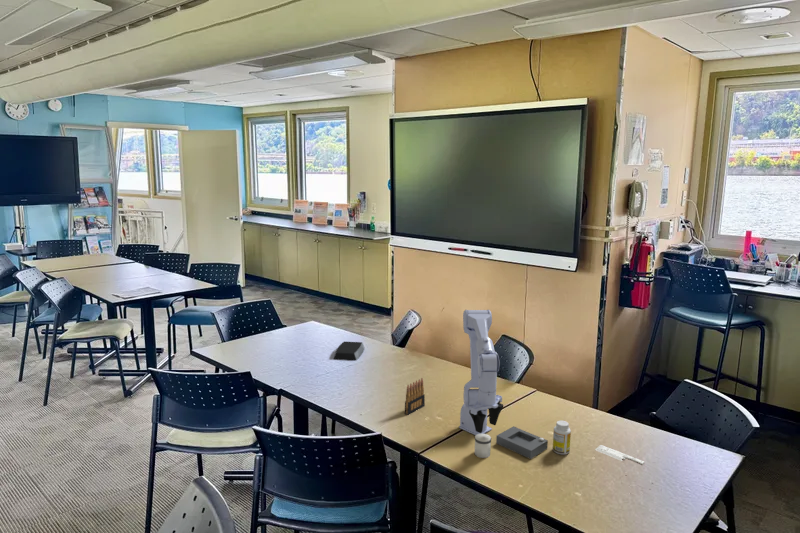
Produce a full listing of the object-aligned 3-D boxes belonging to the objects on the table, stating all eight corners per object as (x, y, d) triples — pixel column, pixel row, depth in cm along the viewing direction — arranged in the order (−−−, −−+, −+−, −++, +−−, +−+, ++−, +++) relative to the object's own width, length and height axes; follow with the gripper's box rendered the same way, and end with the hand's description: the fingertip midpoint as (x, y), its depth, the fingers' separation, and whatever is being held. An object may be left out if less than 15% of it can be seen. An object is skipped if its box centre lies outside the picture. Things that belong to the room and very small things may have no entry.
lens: (470, 453, 183) (471, 437, 182) (481, 448, 187) (481, 431, 186) (483, 459, 179) (484, 443, 178) (493, 454, 183) (494, 437, 182)
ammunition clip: (421, 404, 220) (421, 376, 218) (424, 406, 219) (425, 377, 217) (404, 413, 212) (404, 384, 210) (408, 415, 211) (408, 385, 209)
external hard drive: (366, 348, 288) (366, 341, 287) (357, 361, 269) (357, 353, 269) (341, 347, 290) (341, 339, 289) (332, 360, 271) (332, 352, 270)
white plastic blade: (637, 469, 175) (637, 466, 175) (593, 452, 186) (593, 449, 185) (644, 463, 178) (644, 460, 178) (601, 446, 189) (601, 443, 189)
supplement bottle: (565, 446, 188) (567, 418, 186) (572, 454, 183) (574, 426, 181) (549, 447, 188) (551, 419, 186) (556, 455, 182) (557, 427, 180)
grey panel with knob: (496, 443, 190) (496, 433, 189) (513, 434, 197) (513, 424, 196) (530, 459, 180) (531, 449, 179) (547, 448, 187) (547, 438, 186)
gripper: (483, 399, 171) (482, 439, 173) (510, 386, 181) (508, 424, 183) (465, 392, 176) (464, 431, 178) (493, 380, 186) (491, 417, 188)
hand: (485, 427), depth 181 cm, fingers open, 7 cm apart
